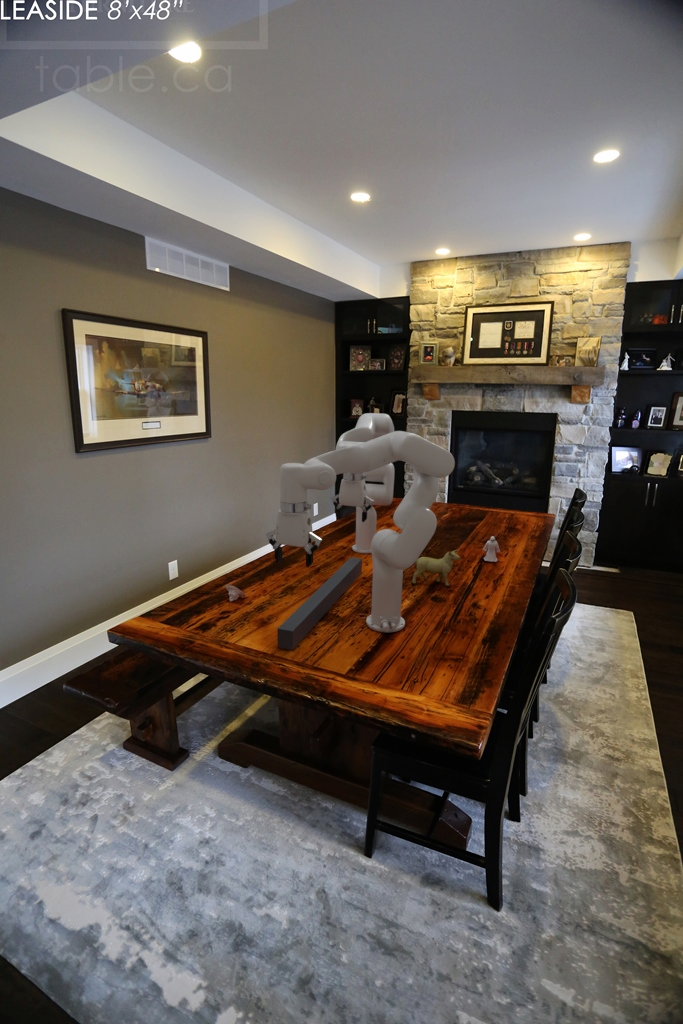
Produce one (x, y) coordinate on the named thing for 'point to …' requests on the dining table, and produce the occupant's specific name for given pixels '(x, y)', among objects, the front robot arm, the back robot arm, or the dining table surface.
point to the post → (317, 605)
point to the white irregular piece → (234, 592)
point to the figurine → (491, 550)
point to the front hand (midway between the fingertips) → (293, 563)
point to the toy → (435, 566)
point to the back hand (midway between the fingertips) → (352, 519)
